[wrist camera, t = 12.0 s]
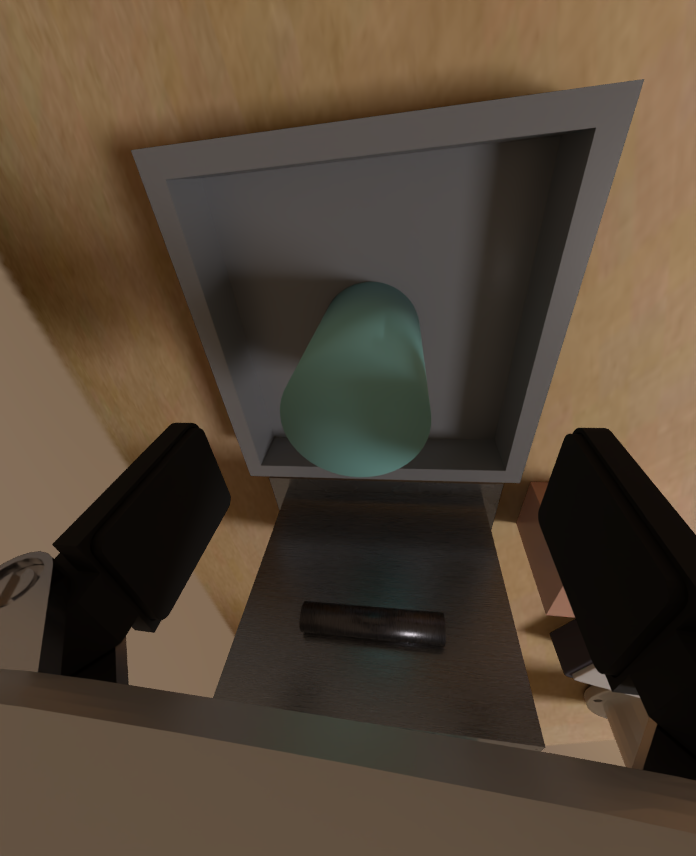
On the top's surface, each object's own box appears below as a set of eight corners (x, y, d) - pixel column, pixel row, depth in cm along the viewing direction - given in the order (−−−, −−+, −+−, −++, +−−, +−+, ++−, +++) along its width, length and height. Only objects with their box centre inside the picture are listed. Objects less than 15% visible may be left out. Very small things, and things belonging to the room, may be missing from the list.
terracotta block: (603, 483, 20) (666, 581, 15) (580, 525, 22) (628, 622, 17) (530, 481, 20) (569, 575, 16) (516, 522, 23) (546, 614, 18)
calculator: (889, 648, 21) (678, 717, 29) (816, 582, 24) (648, 660, 33) (736, 601, 20) (565, 686, 28) (683, 539, 23) (546, 631, 32)
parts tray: (589, 99, 11) (644, 78, 8) (504, 444, 19) (519, 482, 16) (181, 154, 13) (130, 150, 10) (267, 441, 21) (250, 475, 19)
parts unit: (498, 468, 20) (594, 757, 10) (479, 548, 25) (530, 795, 15) (274, 463, 22) (172, 698, 12) (296, 537, 27) (236, 749, 17)
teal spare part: (422, 278, 14) (437, 350, 8) (417, 375, 16) (426, 479, 11) (317, 284, 14) (264, 355, 9) (328, 376, 17) (294, 475, 11)
